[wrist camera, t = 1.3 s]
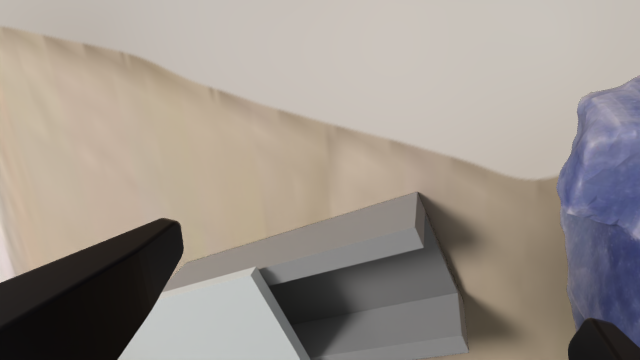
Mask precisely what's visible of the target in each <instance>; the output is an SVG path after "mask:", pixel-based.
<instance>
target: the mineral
mask: <svg viewBox="0 0 640 360" xmlns="http://www.w3.org/2000/svg"><path fill="white" fill-rule="evenodd" d="M577 114H578V130H577V135H576V137H575V139H574V141H573V144H572V151H571V155H570V157H569V158H568V160H567V162H566V163H565V164H564V166H563V168H562V170H561V171H560V175H559V179H558V183H557V187H556V188H557V192H558V195H559V197H560V200H561V209H560V219H561V227H562V229H563V231H564V234H565V249H566V253H567V260H568V285H567V293H568V297H569V300H570V303H571V306H572V313H573V318H574V321H575V327H576V332H577V330H578V329H579V327H580V326H581V324H582V323H583V321H584V320H585V319H587V318H596V319H601V320H605V321H609V322H611V323H613V324H614V325H616V326H617V327H618V328H619V329H620V330H621V331H622V332H623V333H624V334H625V335H627V336H628V337H629V338H630V339H631V340H632V341H633V342H634V343H635V344H636V345H637V346H638V347H640V76H637V77H635V78H633V79H632V80H630V81H629V82H627V83H625V84H623V85H621V86H619V87H616V88H613V89H608V90H603V91H598V92H591V93H589V94H588V95H586V96H584V97H582V98H581V100H580V101H579V104H578V109H577Z"/></svg>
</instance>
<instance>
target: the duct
mask: <svg viewBox="0 0 640 360" xmlns="http://www.w3.org/2000/svg"><path fill="white" fill-rule="evenodd" d="M252 267H257V268H258V270H259V272H260V274H261V275H262V277H263V279H264V280H265V282H266V284H267V286H268V287H269V289H270V291H271V292H272V294H273V296H274V298H275V299H276V301H277V303H278V304H279V306H280V308H281V310H282V311H283V313H284V315H285V316H286V318H287V320H288V322H289V323H290V325H291V327H292V328H293V330H294V332H295V334H296V335H297V337H298V339H299V341H300V342H301V344H302V346H303V347H304V349H305V351H306V353H307V354H308V356H309V358H310V359H311V360H415V359H423V358H431V357H438V356H446V355H453V354H461V353H469V347H468V338H467V329H466V320H465V311H464V302H463V300H462V297H461V295H460V292H459V290H458V288H457V285H456V283H455V280H454V278H453V276H452V273H451V271H450V268H449V266H448V264H447V261H446V259H445V257H444V254H443V252H442V249H441V247H440V245H439V242H438V240H437V237H436V235H435V233H434V230H433V228H432V226H431V223H430V221H429V218H428V216H427V214H426V211H425V209H424V206H423V204H422V202H421V199H420V197H419V195H418V192H415V193H412V194H408V195H405V196H402V197H399V198H395V199H392V200H389V201H386V202H382V203H379V204H376V205H373V206H369V207H366V208H363V209H360V210H356V211H353V212H350V213H347V214H343V215H340V216H337V217H334V218H330V219H327V220H324V221H321V222H317V223H314V224H311V225H308V226H304V227H301V228H298V229H295V230H291V231H288V232H285V233H282V234H279V235H275V236H272V237H269V238H266V239H262V240H259V241H256V242H253V243H249V244H246V245H243V246H240V247H236V248H233V249H230V250H227V251H223V252H220V253H217V254H214V255H210V256H207V257H204V258H201V259H197V260H194V261H191V262H188V263H186V264H185V265H184V266H183V267H182V268H181V269H180V270H179V271H178V272H177V273H176V274H175V275H174V276H173V277H172V278H171V279H170V280H169V281H168V282H167V284H166V286H165V288H164V289H163V291H162V292H165V291H169V290H173V289H176V288H180V287H184V286H187V285H191V284H194V283H198V282H202V281H205V280H209V279H213V278H216V277H220V276H223V275H227V274H231V273H234V272H238V271H241V270H245V269H249V268H252Z"/></svg>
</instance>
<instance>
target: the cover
mask: <svg viewBox="0 0 640 360" xmlns="http://www.w3.org/2000/svg"><path fill="white" fill-rule="evenodd" d="M118 360H311V359H310V358H309V356H308V354H307V353H306V351H305V349H304V347H303V346H302V344H301V342H300V341H299V339H298V337H297V335H296V334H295V332H294V330H293V328H292V327H291V325H290V323H289V322H288V320H287V318H286V316H285V315H284V313H283V311H282V310H281V308H280V306H279V304H278V303H277V301H276V299H275V298H274V296H273V294H272V292H271V291H270V289H269V287H268V286H267V284H266V282H265V280H264V279H263V277H262V275H261V274H260V272H259V270H258V268H257V267H252V268H249V269H245V270H241V271H238V272H234V273H231V274H227V275H223V276H220V277H216V278H213V279H209V280H205V281H202V282H198V283H194V284H191V285H187V286H184V287H180V288H176V289H173V290H169V291H165V292H162V293H161V295H160V297H159V299H158V300H157V302H156V304H155V305H154V307H153V309H152V311H151V312H150V314H149V315H148V317H147V318H146V320H145V321H144V322H143V324H142V325H141V327H140V328H139V330H138V331H137V333H136V334H135V335H134V337H133V338H132V340H131V341H130V343H129V344H128V345H127V347H126V348H125V350H124V351H123V353H122V354H121V356H120V357H119V358H118Z"/></svg>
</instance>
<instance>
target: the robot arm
mask: <svg viewBox="0 0 640 360" xmlns="http://www.w3.org/2000/svg"><path fill="white" fill-rule="evenodd" d="M183 249H184V246H183V239H182V232H181V226H180V223H179V222H178V221H175V220H171V219H167V218H161V219H158V220H155V221H153V222H150V223H148V224H146V225H143V226H141V227H138V228H136V229H133V230H131V231H128V232H126V233H123V234H121V235H118V236H116V237H113V238H111V239H108V240H106V241H103V242H101V243H98V244H96V245H93V246H91V247H88V248H86V249H83V250H81V251H78V252H76V253H73V254H71V255H68V256H66V257H63V258H61V259H58V260H56V261H53V262H51V263H49V264H46V265H44V266H41V267H39V268H36V269H34V270H31V271H29V272H26V273H24V274H21V275H19V276H16V277H14V278H11V279H9V280H6V281H4V282H1V283H0V360H118V358H119V357H120V356H121V354H122V353H123V351H124V350H125V348H126V347H127V345H128V344H129V343H130V341H131V340H132V338H133V337H134V335H135V334H136V333H137V331H138V330H139V328H140V327H141V325H142V324H143V322H144V321H145V320H146V318H147V317H148V315H149V314H150V312H151V311H152V309H153V307H154V305H155V304H156V302H157V300H158V299H159V297H160V295H161V293H162V291H163V289H164V288H165V286H166V284H167V282H168V280H169V279H170V277H171V275H172V273H173V271H174V270H175V268H176V266H177V264H178V262H179V261H180V259H181V257H182V254H183ZM568 357H569V360H640V347H638V346H637V345H636V344H635V343H634V342H633V341H632V340H631V339H630V338H629V337H628V336H627V335H625V334H624V333H623V332H622V331H621V330H620V329H619V328H618V327H617V326H616V325H614V324H613V323H611V322H609V321H605V320H601V319H596V318H587V319H585V320H584V321H583V323H582V324H581V326H580V327H579V329H578V330H577V332H576V334H575V335H574V337H573V338H572V340H571V341H570V344H569V347H568Z"/></svg>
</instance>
